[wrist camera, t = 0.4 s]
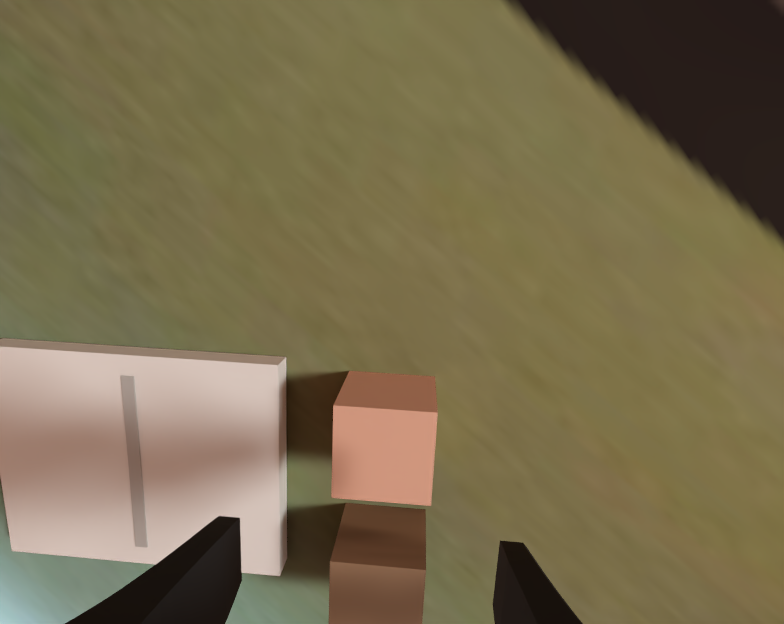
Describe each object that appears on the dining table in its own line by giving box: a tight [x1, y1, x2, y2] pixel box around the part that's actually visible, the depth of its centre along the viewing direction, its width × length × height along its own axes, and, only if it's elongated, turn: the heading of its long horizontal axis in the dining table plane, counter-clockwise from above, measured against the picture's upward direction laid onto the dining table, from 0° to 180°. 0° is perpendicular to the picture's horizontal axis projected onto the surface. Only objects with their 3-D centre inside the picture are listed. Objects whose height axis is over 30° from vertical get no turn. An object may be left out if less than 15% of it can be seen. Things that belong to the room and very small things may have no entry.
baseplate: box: [0, 338, 287, 576], centre depth 22 cm, size 11×14×1 cm
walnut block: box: [329, 503, 426, 624], centre depth 21 cm, size 4×4×4 cm
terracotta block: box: [332, 371, 438, 506], centre depth 20 cm, size 4×4×4 cm
